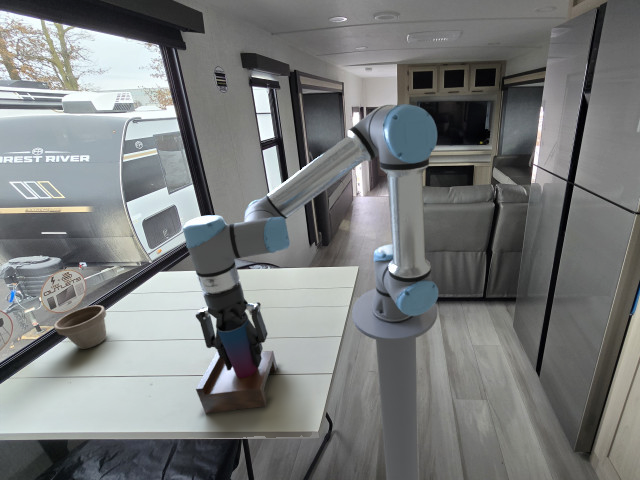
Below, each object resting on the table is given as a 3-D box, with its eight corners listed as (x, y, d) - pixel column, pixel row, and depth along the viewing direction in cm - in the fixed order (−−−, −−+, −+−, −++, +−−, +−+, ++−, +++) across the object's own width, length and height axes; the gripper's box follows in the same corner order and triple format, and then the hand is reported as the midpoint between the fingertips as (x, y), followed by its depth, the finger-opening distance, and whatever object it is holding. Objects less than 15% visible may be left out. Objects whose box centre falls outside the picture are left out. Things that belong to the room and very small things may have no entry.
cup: (263, 372, 76) (250, 324, 70) (233, 386, 73) (217, 336, 67) (258, 355, 82) (245, 309, 76) (230, 366, 78) (214, 319, 73)
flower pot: (72, 339, 99) (57, 314, 95) (117, 324, 105) (105, 300, 102) (65, 361, 91) (49, 334, 87) (114, 343, 97) (101, 317, 93)
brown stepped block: (277, 367, 86) (271, 344, 82) (265, 406, 75) (258, 382, 71) (225, 372, 84) (217, 350, 81) (205, 413, 73) (195, 389, 70)
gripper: (166, 299, 63) (198, 381, 72) (260, 291, 65) (280, 372, 74) (185, 280, 70) (211, 357, 79) (270, 272, 72) (287, 349, 81)
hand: (244, 364), depth 77 cm, fingers closed on cup, 6 cm apart
